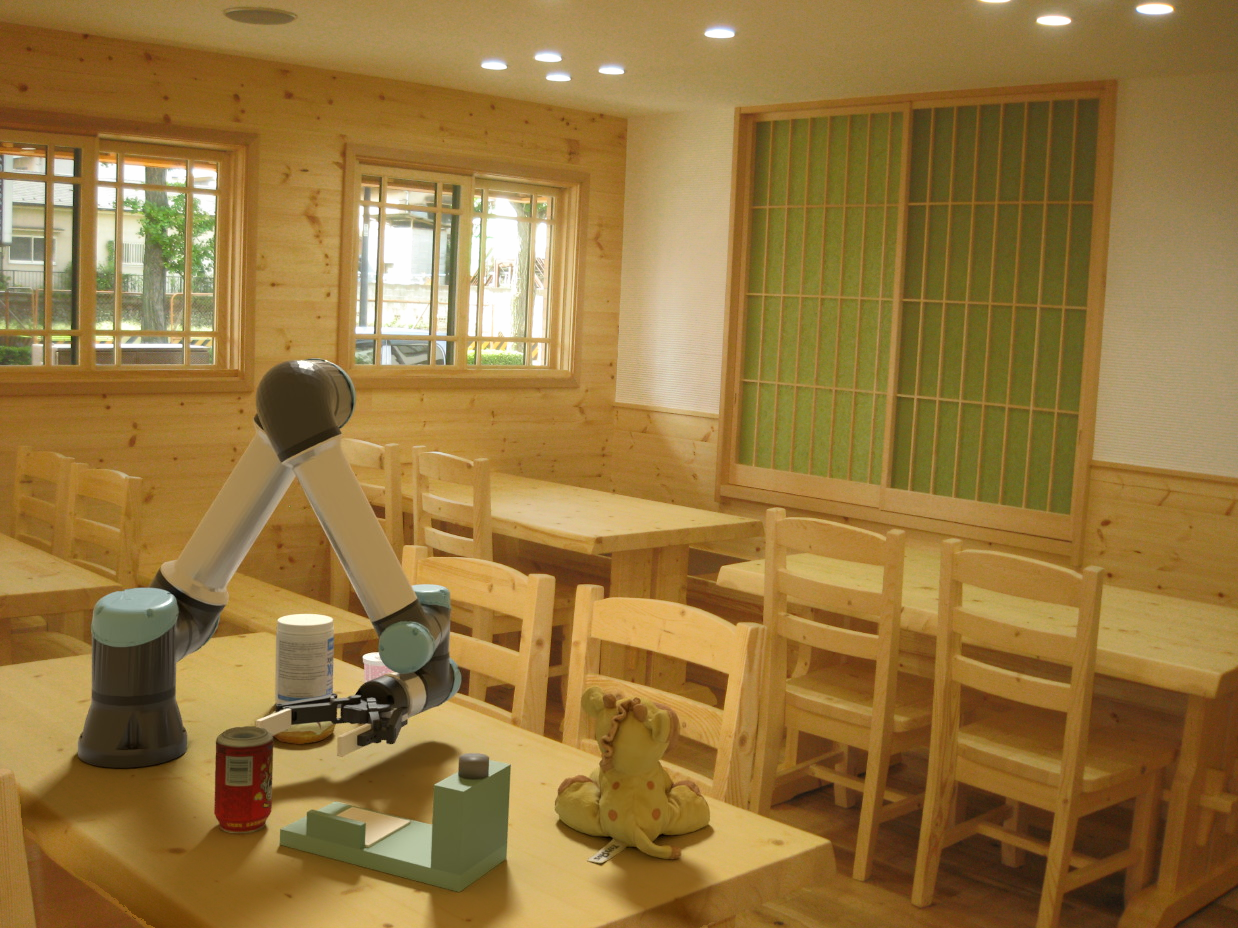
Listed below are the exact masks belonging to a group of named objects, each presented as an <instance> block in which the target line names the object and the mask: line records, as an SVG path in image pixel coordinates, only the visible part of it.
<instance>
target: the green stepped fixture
mask: <svg viewBox="0 0 1238 928" xmlns="http://www.w3.org/2000/svg"><path fill="white" fill-rule="evenodd" d="M511 765H512V764H511V763H507V762H501V761H498V760H497V761H496V760H493V759H492V760H491V759H490V756H488V755H487V754H483V753H479V752H469V753H464V754H461V755H459V756H458V770H457V772H454V773H453V774H451V775H449V776H448V777H446V778H443V779H442V780H440V781H438V782H436V783H434V784H433V794H432V795H433V796H432V797H433V799H432V800H433V803H432V824H429V823H427V822H423V821H422V822H421V821H418V820H415V819H414V820H413V819H410V818H406V817H401V816H397V815H392V814H389V813H385V812H380V811H377V810H372V809H368V808H364V807H360V806H356V805H352V804H347V803H345V802H339V801H333V802H331V803H329V804H327V805H325V806H322V807H321V808H319V809H318V810H316V809H310V810H309V811H306V816H302V817H301V818H299V819H297V820H296V821H293V822H291V823H289V824H287V825H285V826H284V827H281V828H280V829H279V845H281V846H282V847H283V846H284V847H288V848H292V849H294V850H299V851H303V852H306V853H309V854H310V853H311V854H314V855H318V856H321V857H325V858H329V859H334V860H337V861H340V862H344V863H346V864H347V863H348V864H352V865H355V866H360V867H363V868H367V869H371V870H375V871H376V872H377V871H378V872H382V873H386V874H389V875H393V876H396V877H397V876H398V877H401V878H405V879H408V880H412V881H416V882H419V883H424V884H427V885H430V886H435V887H438V888H442V889H445V890H450V891H454V892H457V893H460V892H462V891H463V890H464V889H466V888H467V887H469V886H470V885H472V884H473V883H474V882H476V881H478V880H479V879H480V878H481V877H483V876H485V874H487V873H488V872H490V871H491V870H493V869H494V868H496V867H497V866H498V865H500V864H501V863H503V862H504V861H505V860H507V858H508V857H507V855H508V854H507V853H508V834H509V833H508V831H509V817H510V816H509V813H510V812H509V810H510V792H511V791H510V788H511V771H512V770H511V769H512V768H511V767H512V766H511Z"/></svg>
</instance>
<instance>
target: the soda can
mask: <svg viewBox="0 0 1238 928" xmlns="http://www.w3.org/2000/svg"><path fill="white" fill-rule="evenodd" d="M215 739H216V740H215V761H214V762H215V763H214V764H215V766H214V767H215V770H214V807H213V808H214V809H213V810H214V811H213V813H214V816H215V818H216V821H218V823H219V824H218V825H219V828H220V830H222V832H225V833H229V834H250V833H253V832H256V831H259V830H262V829H263V828H264V827H266V825H267V824H266V823H267V820H268V818H269V817H270V815H271V812H272V805H273V803H272V802H273V801H272V800H273V769H274V768H273V767H274V763H273V762H274V736H273V735H271V733H269V732H268V731H266V729H264V728H259V727H256V725H255V726H253V725H252V726H251V725H250V726H249V725H248V726H247V725H245V726H235V727H230V728H228V729H226V730H224V731H223V732H221V733H219V735H218V736H217V738H215Z"/></svg>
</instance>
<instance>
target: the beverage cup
mask: <svg viewBox="0 0 1238 928" xmlns="http://www.w3.org/2000/svg"><path fill="white" fill-rule="evenodd" d="M362 663H363V664H364V665H363V666H364V667H363V669H364V670H363V671H364V672H363V673H364V683H365V682H368V681H370V680H373V679H375V678H378V677H380V676H383V675H385V674H387V673H390V672H392V670H390V669H389V668H387V667H386V666H385V665H384V663H383V662H382V660H381V658H380V656H379V651H378V652H370V653H365V654H364V655H363V656H362Z"/></svg>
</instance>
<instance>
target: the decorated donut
mask: <svg viewBox="0 0 1238 928" xmlns="http://www.w3.org/2000/svg"><path fill="white" fill-rule="evenodd" d="M274 713H276V710H274V711H273V712H271V713H270V714H269V715H271V714H274ZM336 725H337V724H333V723H332V722H331V721H327V722H316V723H306V724H296V725H291V728H289V729H288V730H285V731H282V732H280V733H277V734H275V735H272V736H273V738H274V737H275V738H276V739H277V740H278V741H279V742H283V743H288V744H295V745H305V744H304V743H307V744H311V743H312V742H313V743H317V741H318V742H319V741H324V740H325V739H327V738H328V737H330V736H331V735H332V734H333V733H334V731H335V729H336Z"/></svg>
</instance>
